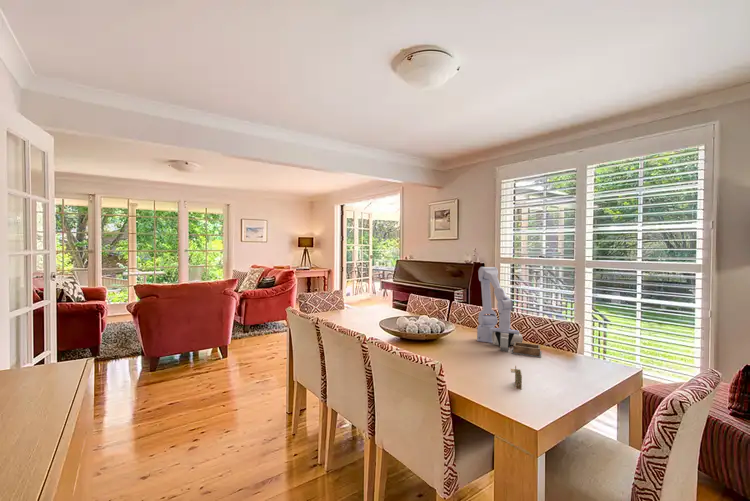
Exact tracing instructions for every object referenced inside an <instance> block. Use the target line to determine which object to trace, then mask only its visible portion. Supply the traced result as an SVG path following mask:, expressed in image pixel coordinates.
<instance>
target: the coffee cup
mask: <svg viewBox="0 0 750 501" xmlns="http://www.w3.org/2000/svg"><path fill="white" fill-rule="evenodd" d="M508 335H509V334H507V333H501V337H507V338H508ZM523 341H524V340H523V335H522V333H519V335H516V334H514V336H513V338H512V340H511V343H510V346H514V342H519V343H523ZM492 342H493V343H492V344H494V345H496V346H499V343H498V340H497V337H496V335H495V332H492Z"/></svg>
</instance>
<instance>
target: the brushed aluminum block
mask: <svg viewBox="0 0 750 501" xmlns="http://www.w3.org/2000/svg"><path fill="white" fill-rule="evenodd" d="M508 342H509V340H508V338H507V337H500V346H499V351H500V352H507V353H508V352H509V349H510V348H508Z"/></svg>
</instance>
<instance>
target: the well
mask: <svg viewBox="0 0 750 501" xmlns="http://www.w3.org/2000/svg"><path fill="white" fill-rule="evenodd" d="M512 346H513V348H512V350H513V352H514V353H522V354H529V355H537V356H540V351H541V345H540V344H536V343H535V344H534V343H525V342H522V343H519V342H514V345H512Z"/></svg>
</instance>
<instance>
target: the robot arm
mask: <svg viewBox="0 0 750 501" xmlns="http://www.w3.org/2000/svg"><path fill="white" fill-rule="evenodd" d="M477 272H478V280H479V282H480V287H481V300H482V301H481V302H482V310H480V311H479V312H478V316H477V321H478V324H477V328H476V329H477V330H476V332H477V334H476V336H477V337H476V342H483V343H490V344H494V343H493V342H492V332H495V335H496V337H497V340H498V343H499V345H498V347H500V337H501V333H507V334H509V335H508V340H509V342H508V348H509V349H510V347H511V345H510V343H511V340H512V338H513V336H514V334H516V335H519V334H520V330H517V329H511V312H512V311H511V310H513V308H514V302H513V300H512V299H511V298H510V297H508V296H507V295H508V294H507V292H506V291H505V288H503V287H501V284H500V279H499V270H498V268H497V267H496V266H480V267H479V268H478V270H477ZM491 286H492V287H493V289H494V291H493V293H494V296H495V299H496V301H497V302H496V303H497V305H496V306H497V310H498V313H499V314H498V316H497V313H496V311H494V309H492V295H491V292H492V291H491ZM497 324H498V327H496V325H497Z"/></svg>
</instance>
